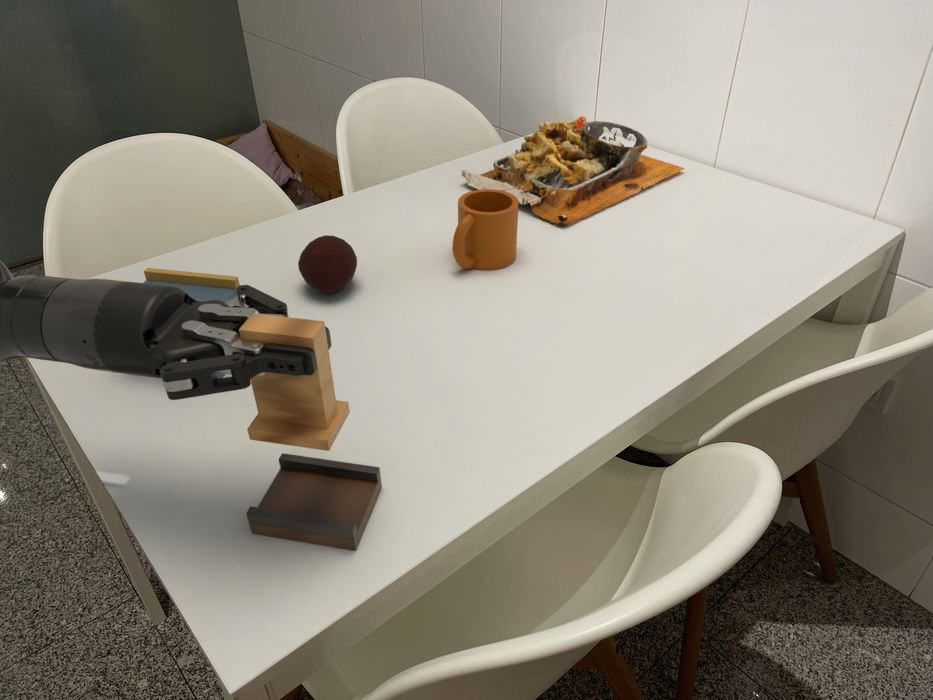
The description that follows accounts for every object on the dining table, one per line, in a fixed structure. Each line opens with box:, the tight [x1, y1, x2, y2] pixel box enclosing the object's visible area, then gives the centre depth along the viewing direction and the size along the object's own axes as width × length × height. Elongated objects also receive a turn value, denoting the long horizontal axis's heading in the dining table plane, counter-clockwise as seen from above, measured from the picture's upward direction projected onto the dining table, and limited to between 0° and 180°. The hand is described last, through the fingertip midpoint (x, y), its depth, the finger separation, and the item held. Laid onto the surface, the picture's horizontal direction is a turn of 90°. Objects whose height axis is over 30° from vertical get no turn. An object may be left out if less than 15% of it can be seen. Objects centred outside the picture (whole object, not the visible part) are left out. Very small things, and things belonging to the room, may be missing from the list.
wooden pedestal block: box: [239, 313, 351, 452], centre depth 56 cm, size 7×5×10 cm
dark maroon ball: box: [297, 235, 358, 294], centre depth 97 cm, size 8×9×8 cm
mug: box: [452, 189, 520, 271], centre depth 102 cm, size 9×12×9 cm
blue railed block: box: [142, 267, 241, 378], centre depth 84 cm, size 12×9×9 cm
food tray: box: [461, 115, 686, 227], centre depth 127 cm, size 35×26×11 cm
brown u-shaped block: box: [245, 452, 383, 551], centre depth 65 cm, size 10×8×3 cm
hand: (321, 350), depth 54 cm, fingers closed on wooden pedestal block, 2 cm apart
